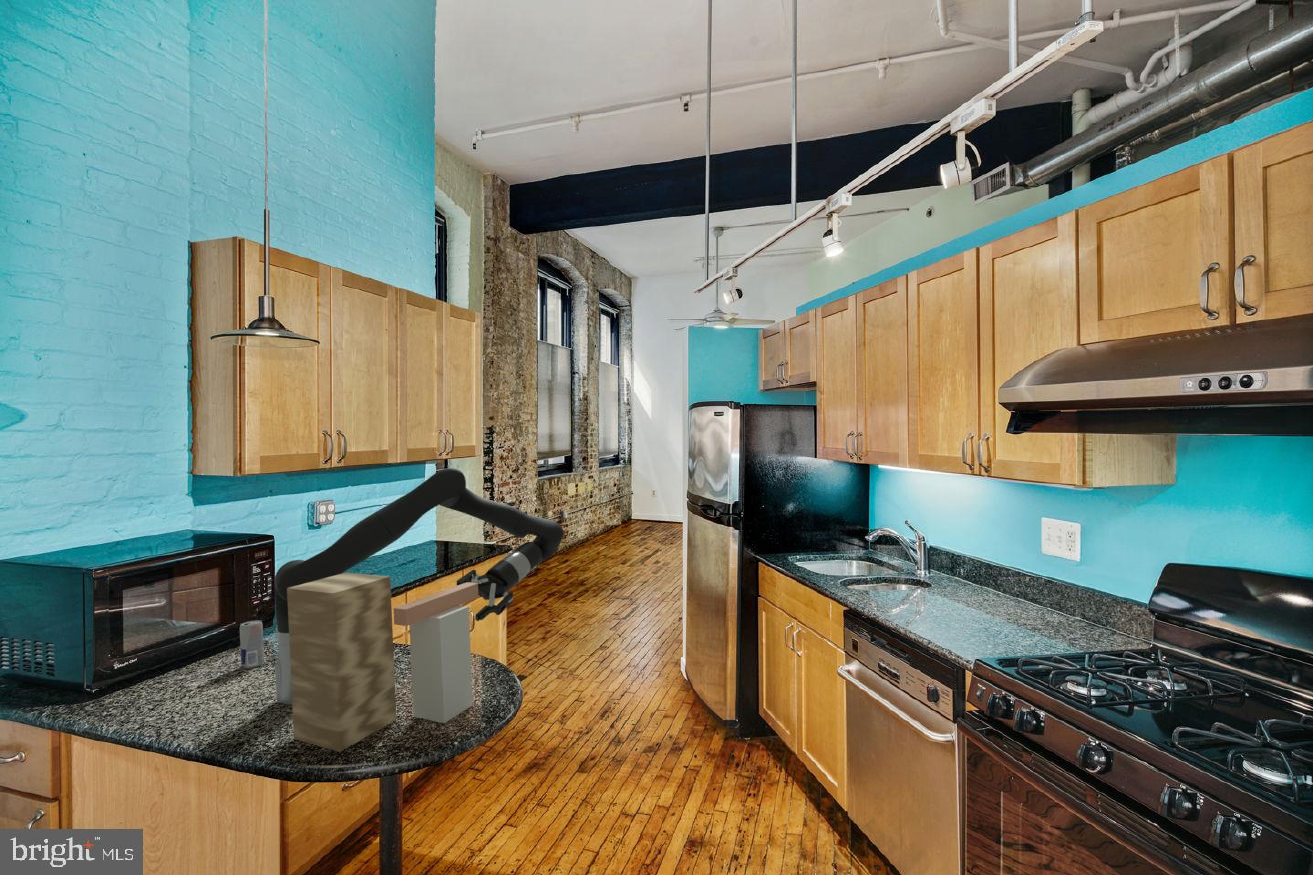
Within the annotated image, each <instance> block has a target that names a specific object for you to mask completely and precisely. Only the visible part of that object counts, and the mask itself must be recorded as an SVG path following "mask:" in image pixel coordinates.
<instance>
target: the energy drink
mask: <svg viewBox="0 0 1313 875" xmlns="http://www.w3.org/2000/svg"><path fill="white" fill-rule="evenodd" d="M263 630H264V629H263V622H262V620H259V619H254V620H249V621H246V622H243V623H241V624H240V625H239V640H240V641H239V642H240V643H239V644H240V662H241V665H240V667H241V668H243V669H254V668H257V667H259V666H262V665H264V663H265V654H264V652H265V649H264V632H263Z"/></svg>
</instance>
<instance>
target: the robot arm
mask: <svg viewBox="0 0 1313 875" xmlns="http://www.w3.org/2000/svg"><path fill="white" fill-rule="evenodd" d="M438 506H441V507H444V508H445V509H446V508H447V509H450V510H452V511H456V512H459V513H462V514H465V515H468V516H471V517H473V518H476V519H479V520H481V521H483V522H486V523H488V524H490V525H492V526H495V527H496V528H498V529H500V530H501V531H504V532H506V533H508V534H510V535H513V536H514V537H516V538H518V539H524V538H525V537H527V535H531V536H535V538H534V539H533V540H532V541H527V542H524V543H522V544H521V545H520V546H518V547H517V548H516V549H514V550H513V551H512V552H510V553H508V554H507V555H505V556H504V557H503V558H501V559H500V560H499V561H497V563H495V564H494V565H493V566H491V567H490V568H489V569H488V570H487V571H486V572H485V573H484V574H482V575H479V574H478V573H477V570H476V569H472V570H470V571H469V572H467V573H466V574H464V575H462V576H461V577H460V578H459V579H457V580H456V586H458V585H460V584H463V583H466V582H469V583H478V597H481V598H483V600H485V601H488V605H487V604H486V605H484V606H483V607H482V608H481V609H480V610H478V612H476V613H475V617H474V619H475V621H476V622H479V621H483V620H484V619H485V618H487V617H488V616H489V615H490V614H495V615H496V616H500V615H501V614H502V613H503V612H504V611H505V610H506V609H507V608H508V607H509V606H510V605H511V604H512V603H513V601H514V593H513V592H509V591H510V590H512V589H513V588H514V587H515V586H516V585H517V584H518V583H520V582H521V581H522V580H523V579H524V578H525V577H526V576H527V575H528V574H529V573H531V571H532V570H533V569H534V568H535V567H537V566H538V565H539V564H540V563H542V562H544V561H546V560H547V559H549V558H551V557H552V556H553V555H554V554H555V553H556V551H558V549H559V546H560V544H561V542H562V541H563V538H564V536H565V533H564V532H565V531H564V529H563V527H562V526H561V525H560V524H559V523H558V522H557V521H554V520H552V519H548V518H544V517H540V516H534V515H531V514H528V513H527V512H525V511H523V510H520V509H518V508H516V507H514V506H512V505H509V504H507V503H503V502H499V501H495V500H491V499H487V498H485V497H482V496H480V495H478V494H476V493H475V492H473V491H471V490H470V489H469V488H467V481H466V477H465V474H464V473H463V472H462V471H461V470H460V469H458V468H455V467H454V468H453V467H448V468H443V469H440V470H438V471H437V472H435V473H434V474H433V475H431V476H429V477H428V478H427V479H426V480H425V481H423V482H422V483H421V484H419V485H418V486H416V487H415V488H413V489H412V490H410V491H409V492H407V493H406V494H404V495H402V496H400V497H399V498H397V499H396V500H394V501H392V502H390V503H389V504H387V505H385V506H384V507H382V508H381V509H378V510H376V511H375V512H373V513H372V514H370V515H368V516H367V517H365V518H363V519H362V520H360V521H358V522H357V523H356V524H354V525H353V526H352V527H350V529H348V530H347V531H346V532H345V533H344V534H343V535H341V536H340V537H339V538H338V539H337V540H336V541H335V542H334V543H333V544H331V545H330V546H329V547H327V548H326V549H324V550H322V551H321V552H319V553H317V554H315V555H313V556H312V557H310V558H308V559H305V560H303V559H294V560H289V561H288V562H286V563H284V564H283V565H281V566H280V567H279V569H278V570H277V572H276V573H275V576H274V580H273V581H274V584H273V585H274V588H273V589H274V601H275V604H274V605H275V606H274V607H275V617H276V618H275V619H276V627H277V628H276V630H277V646H278V647H277V650H278V661H277V662H276V663H275V665H274V671H275V673H274V674H275V691H276V692H275V693H276V694H275V695H276V703H277V704H284V705H287V706H288V705H292V685H291V664H290V642H289V621H288V599H287V588H290V587H293V586H297V585H301V584H305V583H308V582H312V581H316V580H320V579H324V578H327V577H331V576H335V575H339V574H342V573H346V571H348V570H349V569H352V568H354V567H355V566H357V565H358V564H361V563H363V562H364V561H365V560H367V559H368V558H371V557H372V556H373V555H376V554H377V553H378V552H381V551H382V550H384V549H385V548H388V546H390V545H391V544H393V543H394V542H397V540H398V539H400V538H401V537H403V536H404V535H405V534H406V533H407V532H408V531H409V530H410V529H411V528H412V527H413V526H414V525H415V524H416V523H417V522H418V521H419V520H420V519H421V518H422V517H423V516H424V515H426V514H427V513H428V512H429V511H431V510H432V509H434V508H436V507H438ZM500 598H502V599H501V600H500V602H498V603H497V604H496V600H497V599H500Z"/></svg>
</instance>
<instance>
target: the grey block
mask: <svg viewBox="0 0 1313 875" xmlns="http://www.w3.org/2000/svg"><path fill="white" fill-rule="evenodd" d="M469 612H470V611H469V606H466V605H458V606H456V607H453V608H451V609H448V610H446V611H443V612H441V613H438V614H436V615H433V616H431V617H428V618H426V619H423V620H420V621H418V622H415V623H413V624H410V625H409V646H410V647H409V648H410V669H411V670H410V671H411V686H412V687H411V690H412V692H411V693H412V708H413V709H412V711H413V712H412V714H413V717H414V718H418V719H422V718H423V720H427V719H429V720H428V721H431V720H432V722H437V723H442V724H445V723H448V722H449V721H451V720H452V719H453V718H456V716H458V715H459V714H461V713H463V712H465V711H466V710H468V709H469V708H470V707H473V705H474V702H473V700H474V699H473V679H472V659H471V658H472V657H471V634H470V633H471V632H470V630H471V629H470V615H469V614H470V613H469Z"/></svg>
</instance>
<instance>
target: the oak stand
mask: <svg viewBox="0 0 1313 875" xmlns="http://www.w3.org/2000/svg"><path fill="white" fill-rule="evenodd" d="M391 588H392V587H391V576H390V575H388V576H387V575H377V574H368V573H367V574H366V573H355V572H344V573H342V574H339V575H335V576H331V577H327V578H324V579H320V580H316V581H312V582H308V583H305V584H301V585H297V586H293V587H290V588H287V599H288V621H289V642H290V664H291V685H292V723H293V724H292V726H293V740H294V739H295V741H297V740H299V741H298V742H301V741H302V742H301V743H305V742H306V743H305V744H309V745H312V744H313V746H316V745H317V746H316V747H320V748H325V749H328V750H332V751H334V752H339V753H341V752H343V751H344V749H345V750H346V749H348V748H350V747H352V746H353V745H355V744H358V743H359V742H361V741H362V740H364V739H366V738H367V737H369V736H371V735H372V734H375V733H376V732H378V731H379V729H380V730H382V729H383V728H385V727H387V726H388V725H391V724H392V723H394V722H395V721H397V703H396V701H397V699H396V698H397V696H396V680H395V679H396V678H395V659H394V658H395V657H394V655H395V654H394V637H393V636H394V633H393V631H394V630H393V612H392V607H393V606H392V589H391ZM393 721H394V722H393ZM387 724H388V725H387ZM386 725H387V726H386ZM384 726H385V727H384ZM382 727H383V728H382ZM377 730H378V731H377ZM365 737H366V738H365ZM351 745H352V746H351ZM349 746H350V747H349Z"/></svg>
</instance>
